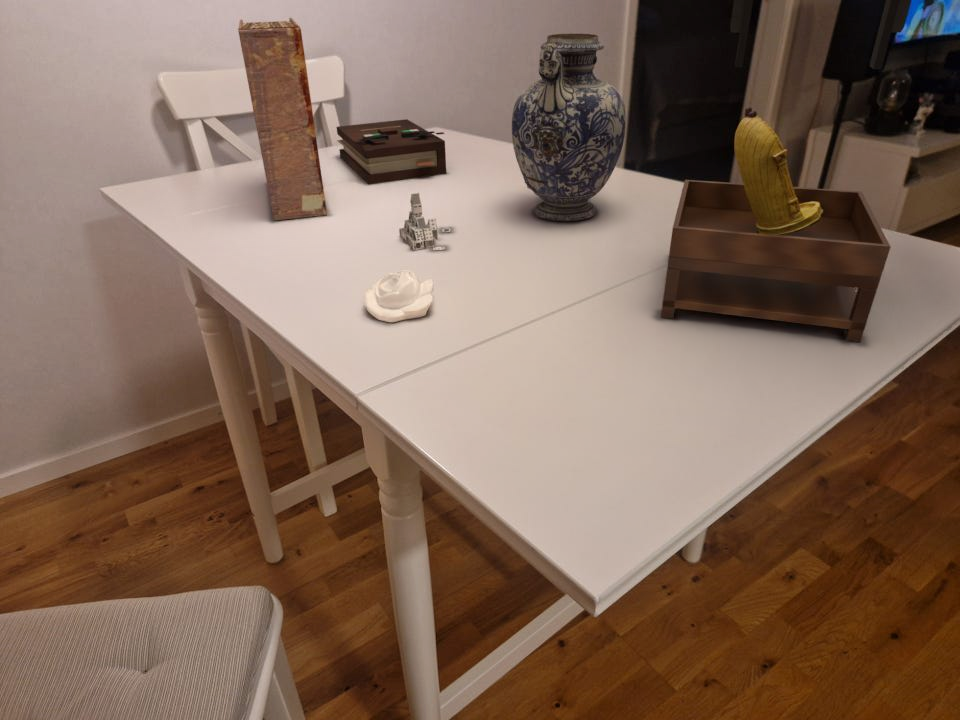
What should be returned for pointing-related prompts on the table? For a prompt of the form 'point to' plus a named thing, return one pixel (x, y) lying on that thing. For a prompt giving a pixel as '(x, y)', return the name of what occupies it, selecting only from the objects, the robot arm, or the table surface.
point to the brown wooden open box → (775, 259)
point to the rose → (399, 297)
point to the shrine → (770, 180)
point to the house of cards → (420, 228)
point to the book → (283, 117)
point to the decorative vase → (568, 129)
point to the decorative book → (392, 151)
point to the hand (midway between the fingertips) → (805, 67)
